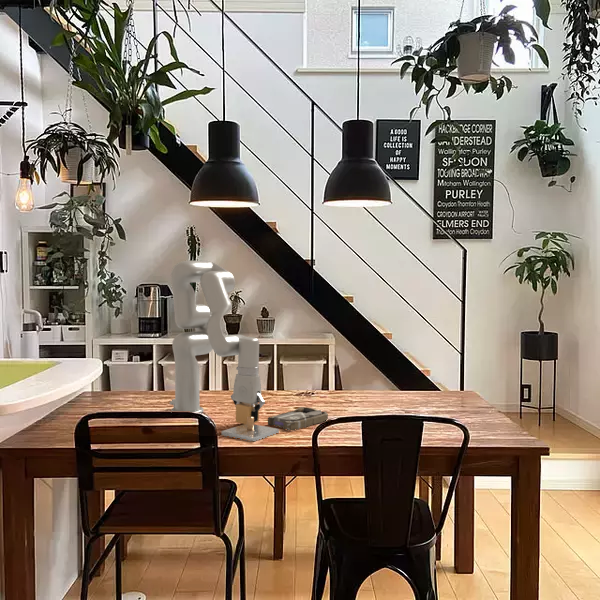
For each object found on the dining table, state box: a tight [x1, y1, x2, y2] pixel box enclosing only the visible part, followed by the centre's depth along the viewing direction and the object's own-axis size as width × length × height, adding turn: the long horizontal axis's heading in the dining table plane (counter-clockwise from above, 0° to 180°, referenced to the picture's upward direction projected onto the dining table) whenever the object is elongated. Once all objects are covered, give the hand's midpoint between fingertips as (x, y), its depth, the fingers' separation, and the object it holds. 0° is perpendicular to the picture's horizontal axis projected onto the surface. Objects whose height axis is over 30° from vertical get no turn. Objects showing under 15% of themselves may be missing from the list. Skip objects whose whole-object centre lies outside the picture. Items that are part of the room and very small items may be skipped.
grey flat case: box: [267, 406, 329, 431], centre depth 248 cm, size 4×24×15 cm
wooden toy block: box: [235, 403, 260, 425], centre depth 243 cm, size 6×6×6 cm
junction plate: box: [221, 416, 280, 442], centre depth 229 cm, size 14×14×6 cm
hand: (247, 419), depth 243 cm, fingers closed on wooden toy block, 5 cm apart
